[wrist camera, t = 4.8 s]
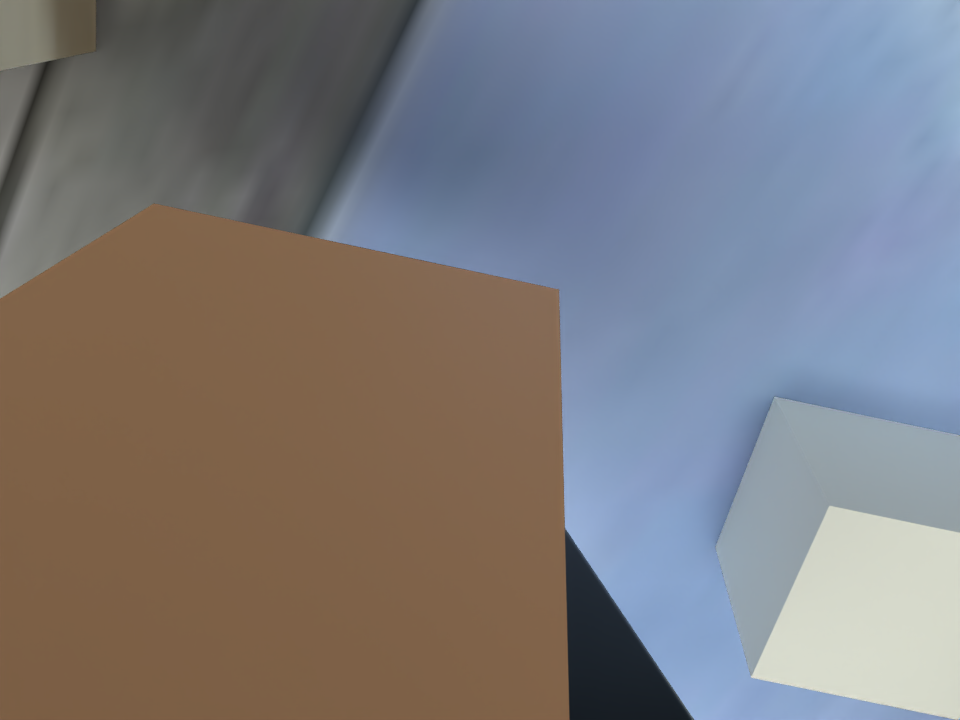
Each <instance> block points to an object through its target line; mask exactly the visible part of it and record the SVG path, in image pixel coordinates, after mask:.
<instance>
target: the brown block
mask: <svg viewBox="0 0 960 720" xmlns="http://www.w3.org/2000/svg"><path fill="white" fill-rule="evenodd" d="M0 720H569V682H568V641H567V600H566V558H565V517H564V476H563V434H562V393H561V352H560V310H559V289H554V288H550V287H545V286H540V285H535V284H531V283H526V282H521V281H517V280H512V279H507V278H502V277H498V276H493V275H488V274H484V273H479V272H474V271H469V270H465V269H460V268H455V267H451V266H446V265H441V264H436V263H432V262H427V261H422V260H418V259H413V258H408V257H403V256H399V255H394V254H389V253H385V252H380V251H375V250H370V249H366V248H361V247H356V246H352V245H347V244H342V243H338V242H333V241H328V240H323V239H319V238H314V237H309V236H305V235H300V234H295V233H290V232H286V231H281V230H276V229H272V228H267V227H262V226H257V225H253V224H248V223H243V222H239V221H234V220H229V219H224V218H220V217H215V216H210V215H206V214H201V213H196V212H191V211H187V210H182V209H177V208H173V207H168V206H163V205H159V204H152V205H151V206H149V207H148V208H146V209H144V210H143V211H141V212H140V213H138V214H136V215H135V216H133V217H132V218H130V219H128V220H127V221H125V222H123V223H122V224H120V225H119V226H117V227H115V228H114V229H112V230H111V231H109V232H107V233H106V234H104V235H102V236H101V237H99V238H98V239H96V240H94V241H93V242H91V243H90V244H88V245H86V246H85V247H83V248H81V249H80V250H78V251H77V252H75V253H73V254H72V255H70V256H69V257H67V258H65V259H64V260H62V261H60V262H59V263H57V264H56V265H54V266H52V267H51V268H49V269H48V270H46V271H44V272H43V273H41V274H39V275H38V276H36V277H35V278H33V279H31V280H30V281H28V282H27V283H25V284H23V285H22V286H20V287H18V288H17V289H15V290H14V291H12V292H10V293H9V294H7V295H6V296H4V297H2V298H1V299H0Z"/></svg>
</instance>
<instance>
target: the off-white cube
mask: <svg viewBox="0 0 960 720" xmlns="http://www.w3.org/2000/svg"><path fill="white" fill-rule="evenodd" d="M715 548H716V552H717V555H718V559H719V563H720V566H721V570H722V574H723V577H724V581H725V584H726V588H727V592H728V595H729V599H730V603H731V606H732V610H733V614H734V617H735V621H736V624H737V628H738V632H739V635H740V639H741V643H742V646H743V650H744V654H745V657H746V661H747V664H748V668H749V672H750V675H751V678H756V679H760V680H765V681H770V682H775V683H780V684H785V685H790V686H795V687H799V688H804V689H809V690H814V691H819V692H824V693H829V694H834V695H838V696H843V697H848V698H853V699H858V700H863V701H868V702H872V703H877V704H882V705H887V706H892V707H897V708H902V709H907V710H911V711H916V712H921V713H926V714H931V715H936V716H941V717H946V718H950V719H955V720H958V719H959V718H960V435H956V434H951V433H947V432H942V431H937V430H932V429H927V428H923V427H918V426H913V425H908V424H903V423H899V422H894V421H889V420H884V419H880V418H875V417H870V416H865V415H860V414H856V413H851V412H846V411H841V410H836V409H832V408H827V407H822V406H817V405H812V404H808V403H803V402H798V401H793V400H789V399H784V398H779V397H774V399H773V401H772V404H771V406H770V409H769V411H768V414H767V417H766V419H765V422H764V424H763V427H762V429H761V432H760V434H759V437H758V439H757V442H756V445H755V447H754V450H753V452H752V455H751V457H750V460H749V462H748V465H747V467H746V470H745V472H744V475H743V478H742V480H741V483H740V485H739V488H738V490H737V493H736V495H735V498H734V500H733V503H732V506H731V508H730V511H729V513H728V516H727V518H726V521H725V523H724V526H723V528H722V531H721V534H720V536H719V539H718V541H717V544H716V546H715Z"/></svg>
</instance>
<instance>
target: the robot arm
mask: <svg viewBox="0 0 960 720" xmlns="http://www.w3.org/2000/svg"><path fill="white" fill-rule="evenodd" d="M565 558H566V600H567V641H568V682H569V720H694V719H693V718H692V716H691V715H690V713H689V712H688V710H687V709H686V707H685V706H684V704H683V703H682V701H681V700H680V698H679V697H678V695H677V694H676V692H675V691H674V689H673V688H672V687H671V685H670V684H669V682H668V681H667V679H666V678H665V676H664V675H663V673H662V672H661V670H660V669H659V667H658V666H657V664H656V663H655V661H654V660H653V658H652V657H651V655H650V654H649V652H648V651H647V649H646V648H645V646H644V645H643V643H642V642H641V640H640V639H639V637H638V636H637V634H636V633H635V632H634V630H633V629H632V627H631V626H630V624H629V623H628V621H627V620H626V618H625V617H624V615H623V614H622V612H621V611H620V609H619V608H618V606H617V605H616V603H615V602H614V600H613V599H612V597H611V596H610V594H609V593H608V591H607V590H606V588H605V587H604V585H603V584H602V582H601V581H600V579H599V578H598V577H597V575H596V574H595V572H594V571H593V569H592V568H591V566H590V565H589V563H588V562H587V560H586V559H585V557H584V556H583V554H582V553H581V551H580V550H579V548H578V547H577V545H576V544H575V542H574V541H573V539H572V538H571V536H570V535H569V533H568V532H567V530H566V529H565Z"/></svg>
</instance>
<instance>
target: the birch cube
mask: <svg viewBox="0 0 960 720" xmlns="http://www.w3.org/2000/svg"><path fill="white" fill-rule="evenodd" d="M95 51H96V0H0V71H3V70H8V69H13V68H18V67H22V66H27V65H32V64H37V63H42V62H47V61H51V60H56V59H61V58H66V57H71V56H75V55H80V54H85V53H90V52H95Z"/></svg>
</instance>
